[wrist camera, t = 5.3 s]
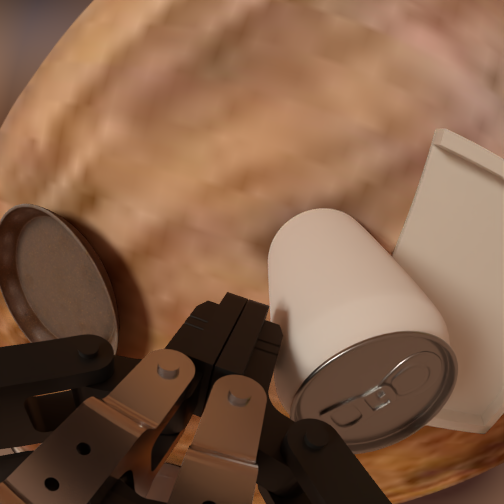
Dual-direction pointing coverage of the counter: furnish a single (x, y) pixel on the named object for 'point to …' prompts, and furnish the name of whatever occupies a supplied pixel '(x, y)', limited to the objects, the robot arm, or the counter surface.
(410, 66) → the counter surface
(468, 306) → the tray
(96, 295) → the plant saucer
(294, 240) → the can
